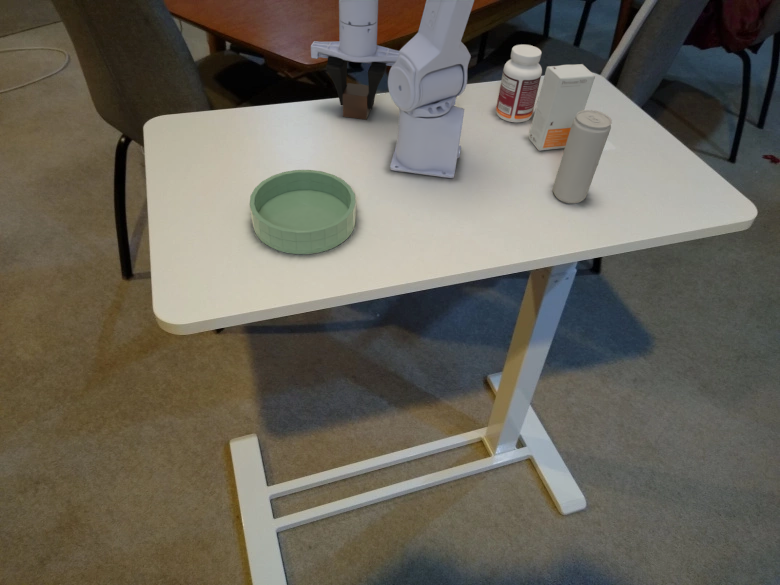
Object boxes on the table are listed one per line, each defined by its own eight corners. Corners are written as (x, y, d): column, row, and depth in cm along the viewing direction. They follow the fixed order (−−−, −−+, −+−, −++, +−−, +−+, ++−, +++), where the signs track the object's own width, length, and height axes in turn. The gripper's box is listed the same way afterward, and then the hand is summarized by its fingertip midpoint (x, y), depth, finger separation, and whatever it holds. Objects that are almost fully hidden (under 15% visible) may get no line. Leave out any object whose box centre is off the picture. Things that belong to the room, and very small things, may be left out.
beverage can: (564, 208, 80) (590, 130, 71) (544, 189, 83) (567, 112, 74) (592, 201, 81) (621, 124, 72) (571, 182, 84) (597, 106, 76)
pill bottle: (531, 108, 100) (547, 45, 92) (531, 126, 95) (547, 60, 88) (495, 103, 100) (508, 40, 92) (493, 120, 96) (506, 55, 88)
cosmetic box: (538, 152, 90) (559, 78, 81) (527, 138, 92) (545, 65, 84) (573, 148, 91) (596, 75, 82) (560, 134, 94) (582, 62, 85)
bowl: (363, 198, 79) (364, 176, 76) (343, 261, 69) (343, 239, 67) (270, 185, 80) (268, 163, 77) (238, 245, 70) (234, 223, 68)
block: (370, 108, 97) (371, 85, 94) (366, 119, 94) (367, 96, 91) (347, 105, 97) (347, 82, 94) (342, 116, 94) (342, 93, 91)
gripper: (410, 15, 87) (404, 98, 97) (317, 4, 88) (320, 88, 98) (403, 32, 82) (397, 119, 92) (305, 21, 83) (309, 107, 93)
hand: (357, 104), depth 94 cm, fingers closed on block, 4 cm apart
